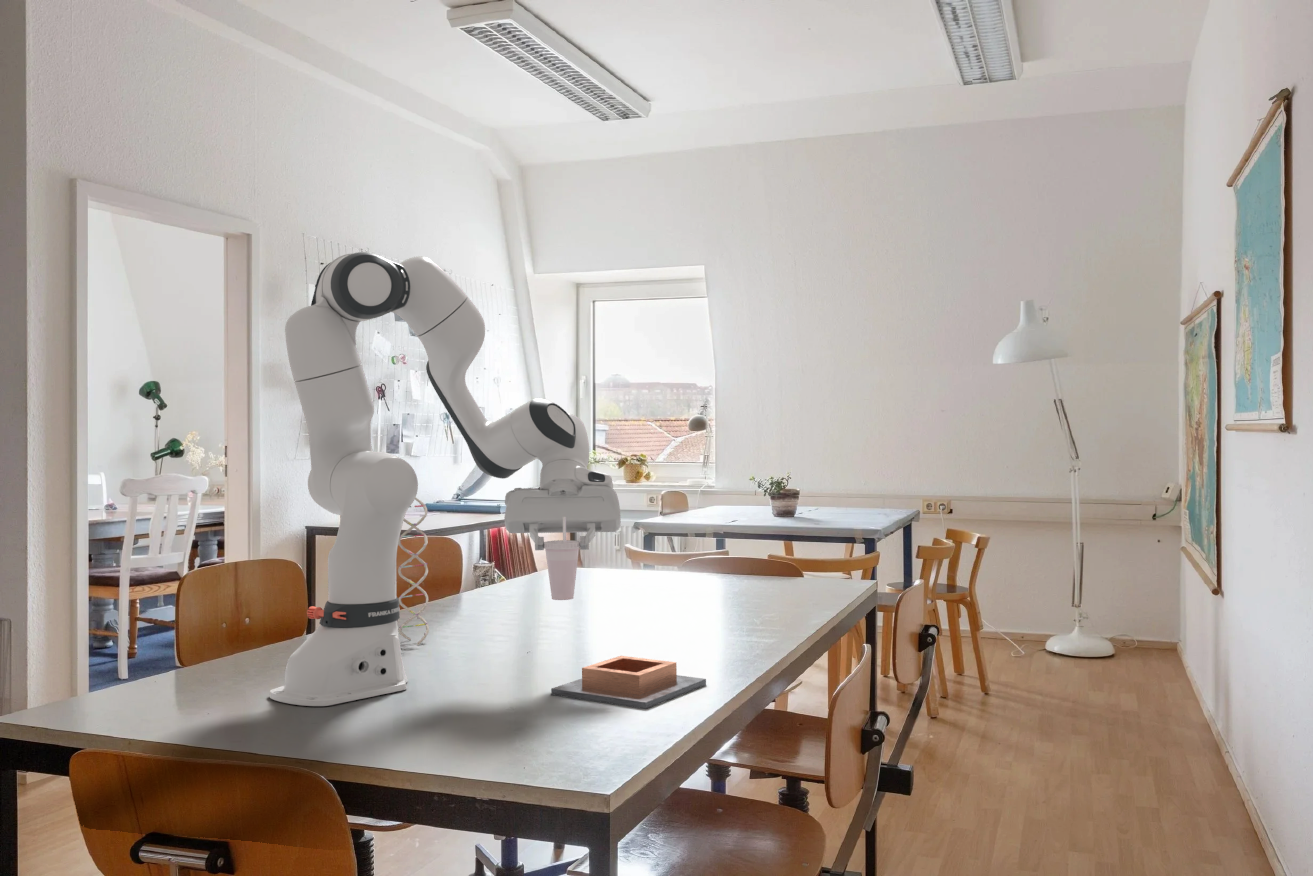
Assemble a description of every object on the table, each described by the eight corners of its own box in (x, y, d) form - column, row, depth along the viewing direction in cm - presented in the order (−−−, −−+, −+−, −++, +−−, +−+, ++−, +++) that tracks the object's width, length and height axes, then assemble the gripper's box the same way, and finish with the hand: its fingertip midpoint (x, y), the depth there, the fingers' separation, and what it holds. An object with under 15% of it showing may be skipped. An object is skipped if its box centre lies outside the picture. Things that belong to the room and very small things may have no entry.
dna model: (433, 643, 211) (431, 494, 211) (401, 646, 208) (399, 495, 209) (425, 638, 217) (423, 493, 217) (394, 641, 214) (392, 494, 215)
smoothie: (566, 602, 175) (565, 518, 175) (536, 599, 179) (535, 517, 179) (588, 597, 181) (587, 515, 181) (559, 594, 184) (558, 514, 184)
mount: (645, 709, 157) (645, 682, 157) (551, 694, 167) (551, 669, 167) (706, 685, 172) (705, 660, 173) (616, 673, 182) (615, 650, 182)
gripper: (504, 476, 186) (499, 536, 176) (620, 475, 187) (620, 535, 177) (507, 500, 191) (502, 560, 181) (620, 499, 191) (621, 558, 182)
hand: (561, 547), depth 179 cm, fingers closed on smoothie, 6 cm apart
